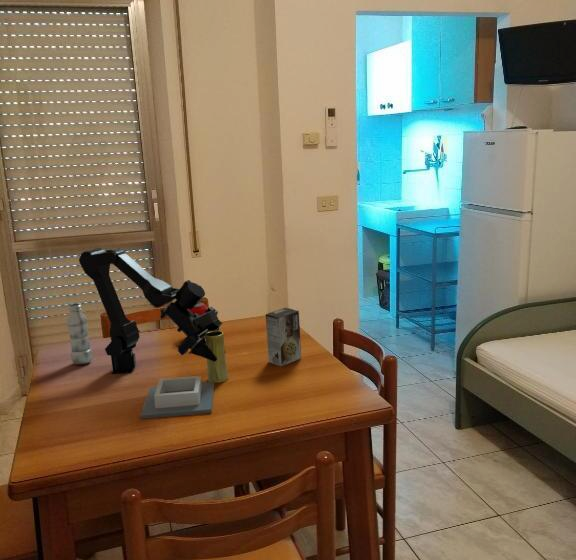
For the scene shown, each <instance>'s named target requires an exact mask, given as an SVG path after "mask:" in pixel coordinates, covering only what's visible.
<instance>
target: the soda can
mask: <svg viewBox="0 0 576 560" xmlns="http://www.w3.org/2000/svg"><path fill="white" fill-rule="evenodd" d="M207 308H208V306H207V305H206V304H205V303H204V302H198V304H197V305H196V306H195V307H194V308H193V309H189V311H190V312H191V313H192V314H195V313H197V314H198V315H199V316H201V315H203V314H204V313H205V310H206V309H207ZM203 338H204V337H203ZM203 338H202V339H203Z"/></svg>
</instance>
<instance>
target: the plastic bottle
mask: <svg viewBox="0 0 576 560" xmlns="http://www.w3.org/2000/svg"><path fill="white" fill-rule="evenodd" d="M82 310H83V308H82V304H81V303H72V304H69V305H68V311H69V314H68V316H67V317H66V320H65V323H66V327H67V330H68V334H69V339H70V348H71V349H70V350H71V352H70V357H71V358H70V359H71V362H72V363H73V364H75V365H85V364H86V365H87V364H89V363H91V362H92V360H93V359H94V358H93V351H92V349H91V344H90V340H89V333H88V326H89V325H88V324H89V323H88V318H87V316H86V314H85V313H84V312H82Z"/></svg>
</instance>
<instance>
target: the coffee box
mask: <svg viewBox="0 0 576 560" xmlns="http://www.w3.org/2000/svg"><path fill="white" fill-rule="evenodd" d="M265 322H266V323H265V324H266V326H265V327H266V340H267V357H268V358H267V359H268V363H270V364H273V365H276V366H278V367H284V366H286V365H288V364H291V363H293V362H295V361H298V360H301V359H302V344H301V327H300V326H301V325H300V311H299V310H297V309H293V308H290V307H283V308H280V309H277V310H274V311H270V312H269V313H265Z"/></svg>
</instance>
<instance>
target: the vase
mask: <svg viewBox="0 0 576 560" xmlns="http://www.w3.org/2000/svg"><path fill="white" fill-rule="evenodd" d="M205 338H206V339H205V341H206V345H207V347H208V348H209V349H210V350H211V351H212V353H213V354H214V355H215V357H216V358H217V360H216V361H215V362H214V361H211V360H209V359H206V366H207V367H206V370H207V378H206V379H207V382H214V384H220V383H221V384H222V383H224V382H226V381H228V379H229V374H228V368H227V360H226V359H227V358H226V353H225V351H226V349H225V348H226V347H225V335H224V332H223V331H221V330H219V331H211V332H208V333H206V334H205Z"/></svg>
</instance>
